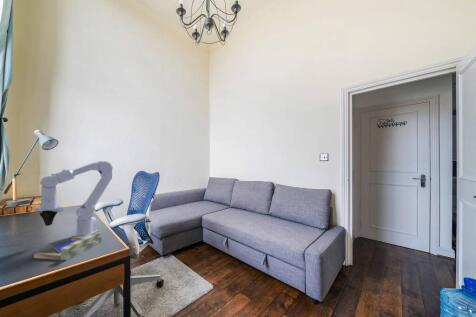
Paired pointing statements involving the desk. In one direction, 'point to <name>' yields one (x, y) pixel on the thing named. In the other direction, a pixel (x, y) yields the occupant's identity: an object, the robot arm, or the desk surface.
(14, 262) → the desk surface
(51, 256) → the dock
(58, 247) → the hard drive
